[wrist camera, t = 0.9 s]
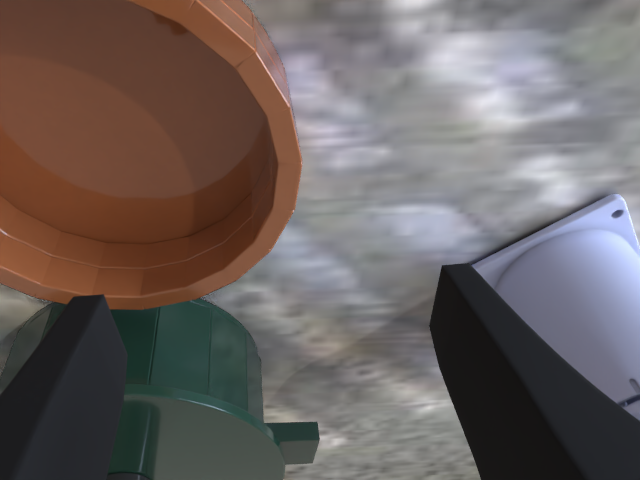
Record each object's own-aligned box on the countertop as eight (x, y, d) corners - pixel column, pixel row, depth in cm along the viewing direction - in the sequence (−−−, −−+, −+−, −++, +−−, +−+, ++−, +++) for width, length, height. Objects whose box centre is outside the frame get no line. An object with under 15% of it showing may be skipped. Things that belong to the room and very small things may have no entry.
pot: (292, 423, 34) (300, 518, 30) (-13, 432, 31) (-53, 541, 27) (323, 290, 26) (341, 393, 22) (-84, 281, 23) (-159, 401, 19)
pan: (273, 254, 24) (278, 312, 22) (-29, 244, 22) (-64, 307, 19) (315, -45, 16) (330, -10, 14) (-156, -113, 14) (-246, -87, 11)
